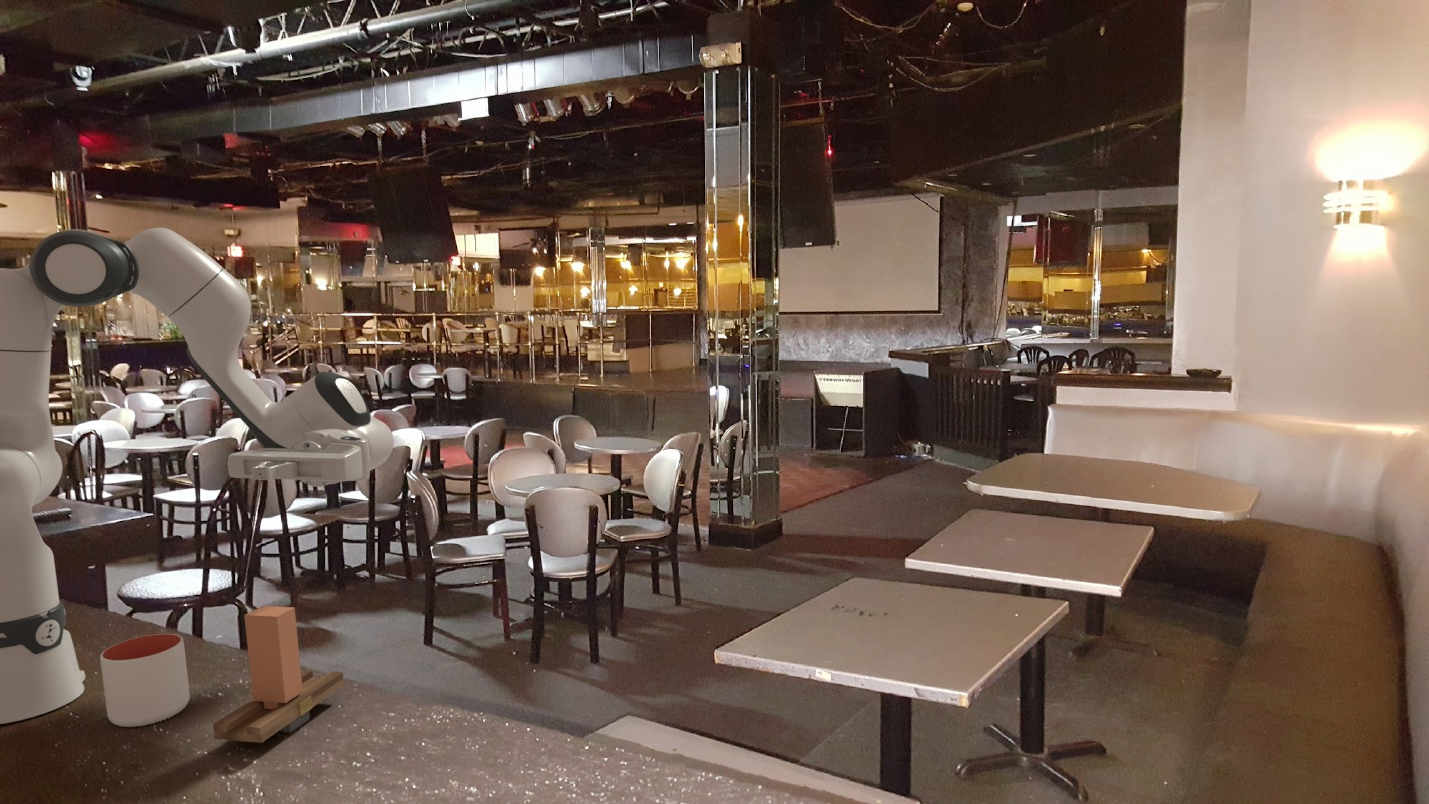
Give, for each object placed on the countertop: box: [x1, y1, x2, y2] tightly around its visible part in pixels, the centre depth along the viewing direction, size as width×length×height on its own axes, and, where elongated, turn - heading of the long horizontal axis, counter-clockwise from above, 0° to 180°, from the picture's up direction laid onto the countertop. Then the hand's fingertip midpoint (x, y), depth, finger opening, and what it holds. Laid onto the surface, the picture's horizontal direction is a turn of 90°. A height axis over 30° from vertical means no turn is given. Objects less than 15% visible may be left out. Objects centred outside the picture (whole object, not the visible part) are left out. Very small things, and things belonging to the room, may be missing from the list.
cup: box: [99, 633, 191, 728], centre depth 129 cm, size 10×10×10 cm
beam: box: [212, 669, 345, 744], centre depth 124 cm, size 7×17×4 cm, turn 167°
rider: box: [244, 605, 303, 709], centre depth 123 cm, size 5×4×13 cm
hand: (260, 474), depth 131 cm, fingers closed
